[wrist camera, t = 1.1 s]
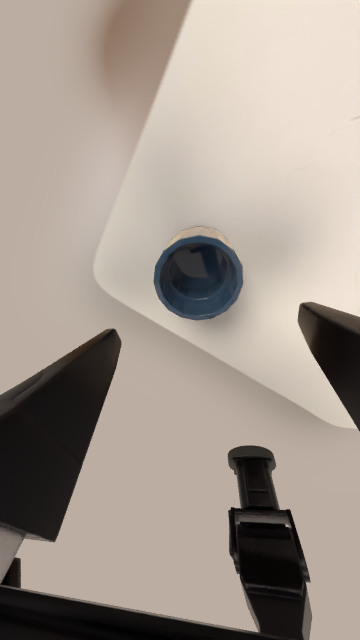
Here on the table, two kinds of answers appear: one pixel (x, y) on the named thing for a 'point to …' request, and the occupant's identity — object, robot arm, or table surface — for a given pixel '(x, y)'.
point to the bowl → (198, 274)
